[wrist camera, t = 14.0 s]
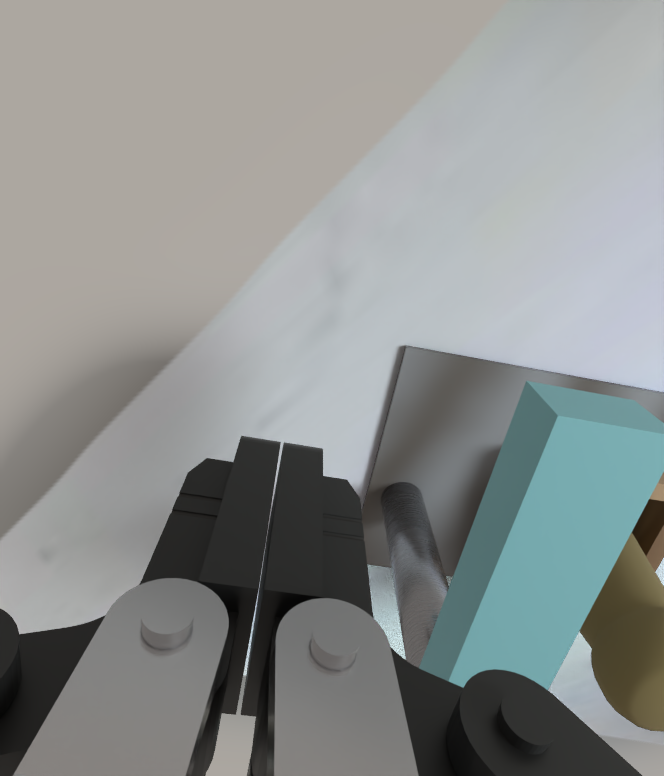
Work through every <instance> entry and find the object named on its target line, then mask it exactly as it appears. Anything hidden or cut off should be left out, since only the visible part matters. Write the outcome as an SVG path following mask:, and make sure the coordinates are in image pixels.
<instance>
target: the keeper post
mask: <svg viewBox="0 0 664 776" xmlns="http://www.w3.org/2000/svg"><path fill="white" fill-rule="evenodd" d="M381 506H382V513H383V519H384V525H385V531H386V537H387V544H388V550H389V556H390V562H391V568H392V575H393V581H394V587H395V593H396V599H397V605H398V612H399V618H400V624H401V630H402V636H403V643H404V649H405V655H406V661H408V662H409V663H411V664H412V665H414V666H416V667H418V668H419V666H420V664H421V661H422V658H423V656H424V653H425V650H426V648H427V645H428V642H429V640H430V637H431V634H432V632H433V629H434V626H435V624H436V621H437V618H438V616H439V613H440V610H441V608H442V605H443V602H444V600H445V597H446V594H447V592H448V589H449V586H448V583H447V579H446V576H445V572H444V569H443V565H442V562H441V558H440V555H439V551H438V548H437V544H436V541H435V538H434V534H433V531H432V527H431V524H430V520H429V517H428V513H427V510H426V506H425V503H424V499H423V496H422V493H421V491H420V489H419V488H418V487H417V486H415V485H413V484H411V483H408V482H398V483H395V484H392V485H390V486H389V487H387V488H386V489H385V490H384V492H383V493H382V496H381Z"/></svg>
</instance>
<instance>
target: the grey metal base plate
mask: <svg viewBox="0 0 664 776" xmlns="http://www.w3.org/2000/svg"><path fill="white" fill-rule="evenodd" d="M526 381H531V382H536V383H542V384H547V385H553V386H558V387H564V388H569V389H575V390H580V391H586V392H592V393H597V394H603V395H608V396H614V397H619V398H625V399H630V400H635V401H636V402H637V403H638V404H640V405H641V406H642V407H644V408H645V409H646V410H647V411H649V412H650V413H651V414H653V415H654V416H655V417H656V418H658V419H659V420H660V421H662V422H663V423H664V392H658V391H653V390H647V389H642V388H636V387H631V386H625V385H620V384H614V383H609V382H603V381H598V380H592V379H587V378H581V377H576V376H570V375H565V374H560V373H554V372H549V371H543V370H538V369H532V368H527V367H521V366H516V365H510V364H505V363H499V362H494V361H488V360H483V359H477V358H472V357H466V356H461V355H455V354H450V353H445V352H439V351H434V350H428V349H423V348H417V347H412V346H406V347H405V350H404V354H403V358H402V362H401V365H400V369H399V373H398V377H397V381H396V384H395V388H394V392H393V396H392V399H391V403H390V407H389V411H388V415H387V418H386V422H385V426H384V430H383V433H382V437H381V441H380V445H379V449H378V452H377V456H376V460H375V464H374V468H373V471H372V475H371V479H370V483H369V486H368V490H367V494H366V498H365V502H364V505H363V509H362V523H363V531H364V541H365V549H366V558H367V564H369V565H376V566H383V567H390V568H391V562H390V556H389V550H388V544H387V537H386V531H385V525H384V519H383V513H382V506H381V496H382V493H383V492H384V490H385V489H386V488H387V487H389V486H390V485H392V484H395V483H398V482H408V483H411V484H413V485H415V486H417V487H418V488H419V489H420V491H421V493H422V496H423V499H424V503H425V506H426V510H427V513H428V517H429V520H430V524H431V527H432V531H433V534H434V538H435V541H436V544H437V548H438V551H439V555H440V558H441V562H442V565H443V569H444V572H445V575H446V576H453V575H454V573H455V570H456V567H457V565H458V562H459V559H460V557H461V554H462V551H463V549H464V546H465V543H466V541H467V538H468V535H469V533H470V530H471V527H472V525H473V522H474V519H475V517H476V514H477V511H478V509H479V506H480V503H481V501H482V498H483V495H484V493H485V490H486V487H487V485H488V482H489V479H490V477H491V474H492V471H493V468H494V466H495V463H496V460H497V458H498V455H499V452H500V450H501V447H502V444H503V442H504V439H505V436H506V434H507V431H508V428H509V426H510V423H511V420H512V418H513V415H514V412H515V410H516V407H517V404H518V402H519V399H520V396H521V394H522V391H523V388H524V386H525V383H526ZM632 533H633V535H634V537H635V539H636V540H637V542H638V544H639V545H640V547H641V549H642V550H643V552H644V554H645V556H646V557H647V559H648V561H649V562H650V564H651V566H652V568H653V569H654V571H655V572H656V570H657V568H658V566H659V565H660V563H661V561H662V559H663V558H664V472H663V474H662V476H661V478H660V480H659V481H658V483H657V485H656V487H655V489H654V491H653V493H652V495H651V497H650V498H649V500H648V502H647V504H646V506H645V508H644V510H643V512H642V514H641V515H640V517H639V519H638V521H637V523H636V525H635V527H634V529H633V530H632Z"/></svg>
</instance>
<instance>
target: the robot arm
mask: <svg viewBox="0 0 664 776" xmlns="http://www.w3.org/2000/svg"><path fill="white" fill-rule="evenodd" d="M279 449H280V442H277V441H270V440H264V439H258V438H252V437H245V436H241V439H240V442H239V445H238V449H237V452H236V455H235V459H234V462H228V461H222V460H215V459H209V458H207V459H205V460H204V461H203V462H201V463H200V464H199V465H198V466H196V467H195V468H194V469H192V470H191V471H190V472H188V474H187V476H186V479H185V481H184V483H183V486H182V488H181V490H180V494H179V496H178V497H177V500H176V502H175V504H174V507H173V509H172V513H171V514H170V516H169V518H168V521H167V523H166V525H165V528H164V530H163V532H162V534H161V537H160V539H159V541H158V544H157V546H156V548H155V551H154V553H153V555H152V558H151V560H150V562H149V565H148V567H147V569H146V572H145V574H144V576H143V579H142V581H141V583H140V585H138V586H136V587H134V588H133V589H131V590H129V591H128V592H126V593H125V594H124V595H122V596H121V597H120V598H119V599H118V600H117V601H116V602H115V603H114V604H113V605H112V607H111V608H110V609H109V611H108V612H107V614H106V615H105V616H103V617H101V618H99V619H96V620H94V621H91V622H88V623H85V624H82V625H77V626H72V627H67V628H60V629H54V630H47V631H40V632H33V633H26V634H20V635H19V632H18V628H17V625H16V623H15V622H14V620H13V618H12V617H11V616H10V615H9V614H8V613H7V612H5V611H4V610H2V609H0V776H205V775H206V771H207V770H208V768H209V766H210V764H211V761H212V759H213V755H214V751H215V746H216V741H217V735H218V730H219V724H220V719H221V714H222V713H226V714H236V710H237V705H238V700H239V694H240V688H241V682H242V677H243V672H244V666H245V661H246V655H247V650H248V644H249V639H250V633H251V627H252V622H253V616H254V611H255V605H256V600H257V594H258V589H259V595H258V602H257V608H256V615H255V622H254V629H253V635H252V642H251V649H250V655H249V662H248V669H247V676H246V682H245V689H244V696H243V703H242V710H241V715H248V716H256V721H255V730H254V738H253V746H252V753H251V758H250V763H249V768H248V773H247V776H642V775H641V774H640V773H639V772H638V771H637V770H636V769H634V768H633V767H632V766H631V765H630V764H629V763H628V762H626V761H625V760H624V759H623V758H622V757H621V756H620V755H619V754H618V753H617V752H616V751H615V750H613V749H612V748H611V747H610V746H609V745H608V744H607V743H606V742H605V741H603V740H602V739H601V738H600V737H599V736H598V735H597V734H596V733H595V732H594V731H592V730H591V729H590V728H589V727H588V726H587V725H586V724H585V723H584V722H583V721H581V720H580V719H579V718H578V717H577V716H576V715H575V714H574V713H573V712H572V711H570V710H569V709H568V708H567V707H566V706H565V705H564V704H563V703H562V702H560V701H559V700H558V699H557V698H556V697H555V696H554V695H553V694H551V693H550V692H549V691H548V690H546V689H545V688H544V687H542V686H541V685H539V684H538V683H536V682H535V681H533V680H531V679H529V678H527V677H525V676H523V675H520V674H518V673H515V672H511V671H507V670H498V669H493V670H485V671H482V672H479V673H477V674H476V675H474V676H472V677H471V678H470V679H469V680H468V681H467V682H466V684H465V686H464V688H463V687H460V686H458V685H456V684H453V683H451V682H449V681H447V680H444V679H442V678H440V677H437V676H435V675H433V674H430V673H428V672H426V671H424V670H422V669H420V668H418V667H416V666H414V665H412V664H411V663H409V662H408V661H406V660H405V659H403V658H402V657H401V656H400V655H398V654H397V653H396V652H395V651H394V650H393V649H392V648H391V647H390V645H389V641H388V639H387V637H386V635H385V633H384V631H383V629H382V628H381V627H380V625H379V624H378V623H377V622H376V621H375V620H374V617H373V612H372V604H371V595H370V586H369V577H368V568H367V558H366V549H365V541H364V531H363V523H362V512H361V503H360V498H359V497H358V495H357V494H356V492H355V491H354V489H353V488H352V486H351V485H350V484H349V482H348V481H347V480H345V479H339V478H332V477H326V476H323V449H321V448H315V447H309V446H303V445H296V444H290V443H284V445H283V450H282V455H281V461H280V467H279V472H278V478H277V483H276V489H275V494H274V500H273V506H272V511H271V517H270V523H269V529H268V522H269V516H270V509H271V502H272V496H273V489H274V482H275V476H276V469H277V463H278V456H279ZM267 529H268V535H267ZM266 536H267V541H266ZM265 542H266V548H265ZM264 549H265V554H264ZM263 555H264V561H263ZM262 562H263V568H262ZM261 569H262V575H261ZM260 575H261V581H260ZM259 582H260V588H259Z"/></svg>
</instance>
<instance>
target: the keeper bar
mask: <svg viewBox="0 0 664 776" xmlns="http://www.w3.org/2000/svg"><path fill="white" fill-rule="evenodd" d="M663 472H664V423H663V422H662V421H660V420H659V419H658V418H656V417H655V416H654V415H653V414H651V413H650V412H649V411H647V410H646V409H645V408H644V407H642V406H641V405H640V404H638V403H637V402H636V401H635V400H630V399H625V398H619V397H614V396H608V395H603V394H597V393H592V392H586V391H580V390H575V389H569V388H564V387H558V386H553V385H547V384H542V383H536V382H531V381H526V383H525V386H524V388H523V391H522V394H521V396H520V399H519V402H518V404H517V407H516V410H515V412H514V415H513V418H512V420H511V423H510V426H509V428H508V431H507V434H506V436H505V439H504V442H503V444H502V447H501V450H500V452H499V455H498V458H497V460H496V463H495V466H494V468H493V471H492V474H491V477H490V479H489V482H488V485H487V487H486V490H485V493H484V495H483V498H482V501H481V503H480V506H479V509H478V511H477V514H476V517H475V519H474V522H473V525H472V527H471V530H470V533H469V535H468V538H467V541H466V543H465V546H464V549H463V551H462V554H461V557H460V559H459V562H458V565H457V567H456V570H455V573H454V575H453V578H452V581H451V584H450V586H449V589H448V592H447V594H446V597H445V600H444V602H443V605H442V608H441V610H440V613H439V616H438V618H437V621H436V624H435V626H434V629H433V632H432V634H431V637H430V640H429V642H428V645H427V648H426V650H425V653H424V656H423V658H422V661H421V664H420V666H419V668H420V669H422V670H424V671H426V672H428V673H430V674H433V675H435V676H437V677H440V678H442V679H444V680H447V681H449V682H451V683H453V684H456V685H458V686H460V687H463V688H464V686H465V684H466V682H467V681H468V680H469V679H470V678H471V677H472V676H474V675H476V674H477V673H479V672H482V671H485V670H493V669H498V670H507V671H511V672H515V673H518V674H520V675H523V676H525V677H527V678H529V679H531V680H533V681H535V682H536V683H538V684H539V685H541V686H542V687H544V688H545V689H546V690H548V689H549V687H550V685H551V683H552V681H553V680H554V678H555V676H556V674H557V672H558V670H559V668H560V666H561V664H562V663H563V661H564V659H565V657H566V655H567V653H568V651H569V649H570V647H571V646H572V644H573V642H574V640H575V638H576V636H577V634H578V632H579V630H580V629H581V627H582V625H583V623H584V621H585V619H586V617H587V615H588V614H589V612H590V610H591V608H592V606H593V604H594V602H595V600H596V598H597V597H598V595H599V593H600V591H601V589H602V587H603V585H604V583H605V581H606V580H607V578H608V576H609V574H610V572H611V570H612V568H613V566H614V564H615V563H616V561H617V559H618V557H619V555H620V553H621V551H622V549H623V547H624V546H625V544H626V542H627V540H628V538H629V536H630V534H631V532H632V530H633V529H634V527H635V525H636V523H637V521H638V519H639V517H640V515H641V514H642V512H643V510H644V508H645V506H646V504H647V502H648V500H649V498H650V497H651V495H652V493H653V491H654V489H655V487H656V485H657V483H658V481H659V480H660V478H661V476H662V474H663Z"/></svg>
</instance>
